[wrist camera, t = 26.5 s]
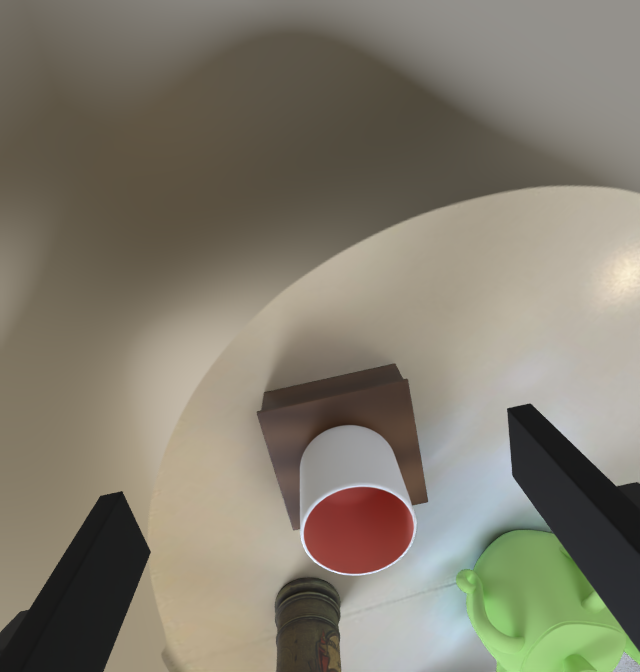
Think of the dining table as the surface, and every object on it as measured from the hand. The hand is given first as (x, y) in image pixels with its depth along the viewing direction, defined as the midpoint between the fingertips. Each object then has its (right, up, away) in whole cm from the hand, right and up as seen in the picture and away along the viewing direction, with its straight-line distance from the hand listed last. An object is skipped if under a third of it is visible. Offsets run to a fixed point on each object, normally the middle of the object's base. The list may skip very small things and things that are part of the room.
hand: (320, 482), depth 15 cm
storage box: (+3, -7, +36) cm, 37 cm away
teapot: (+29, -28, +45) cm, 61 cm away
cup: (+3, -8, +32) cm, 33 cm away
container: (-2, -32, +45) cm, 55 cm away
